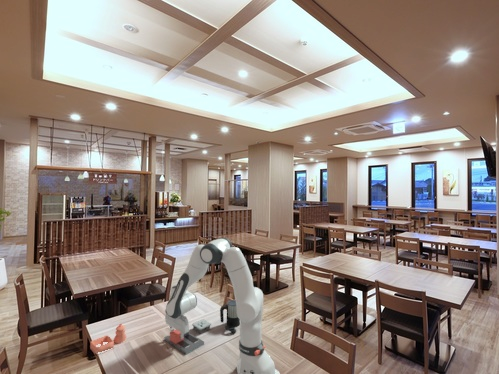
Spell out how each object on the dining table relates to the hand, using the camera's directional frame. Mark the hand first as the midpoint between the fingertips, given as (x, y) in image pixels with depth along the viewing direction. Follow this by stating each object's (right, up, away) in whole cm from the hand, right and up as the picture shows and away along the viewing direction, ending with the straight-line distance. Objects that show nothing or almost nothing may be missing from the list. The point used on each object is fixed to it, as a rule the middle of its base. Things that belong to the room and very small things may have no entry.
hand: (176, 335), depth 154 cm
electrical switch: (+16, -5, +12) cm, 20 cm away
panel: (+4, -4, 0) cm, 6 cm away
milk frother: (+32, -5, +18) cm, 37 cm away
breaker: (+4, -3, +5) cm, 7 cm away
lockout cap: (0, -3, 0) cm, 2 cm away
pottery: (-39, -4, -3) cm, 39 cm away
